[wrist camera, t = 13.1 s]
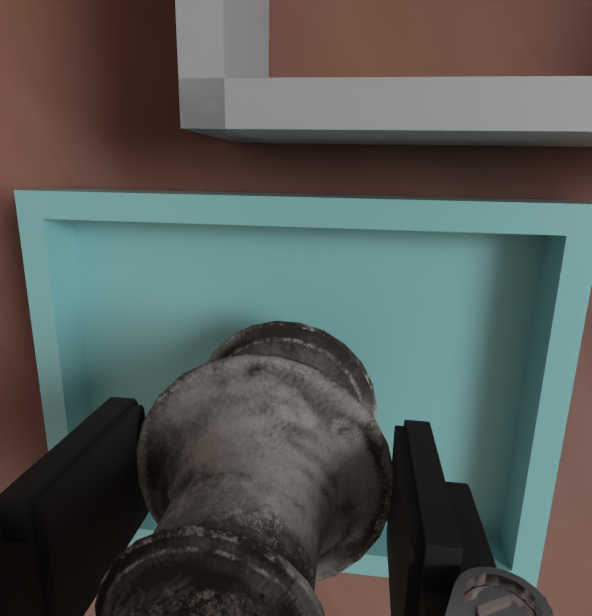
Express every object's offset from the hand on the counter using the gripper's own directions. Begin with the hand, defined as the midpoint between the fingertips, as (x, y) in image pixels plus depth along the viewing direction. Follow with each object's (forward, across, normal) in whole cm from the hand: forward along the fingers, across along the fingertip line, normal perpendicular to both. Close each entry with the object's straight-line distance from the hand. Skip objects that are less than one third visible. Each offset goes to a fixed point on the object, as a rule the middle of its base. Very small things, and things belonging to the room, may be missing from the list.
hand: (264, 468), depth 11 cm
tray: (+6, 0, 0) cm, 6 cm away
